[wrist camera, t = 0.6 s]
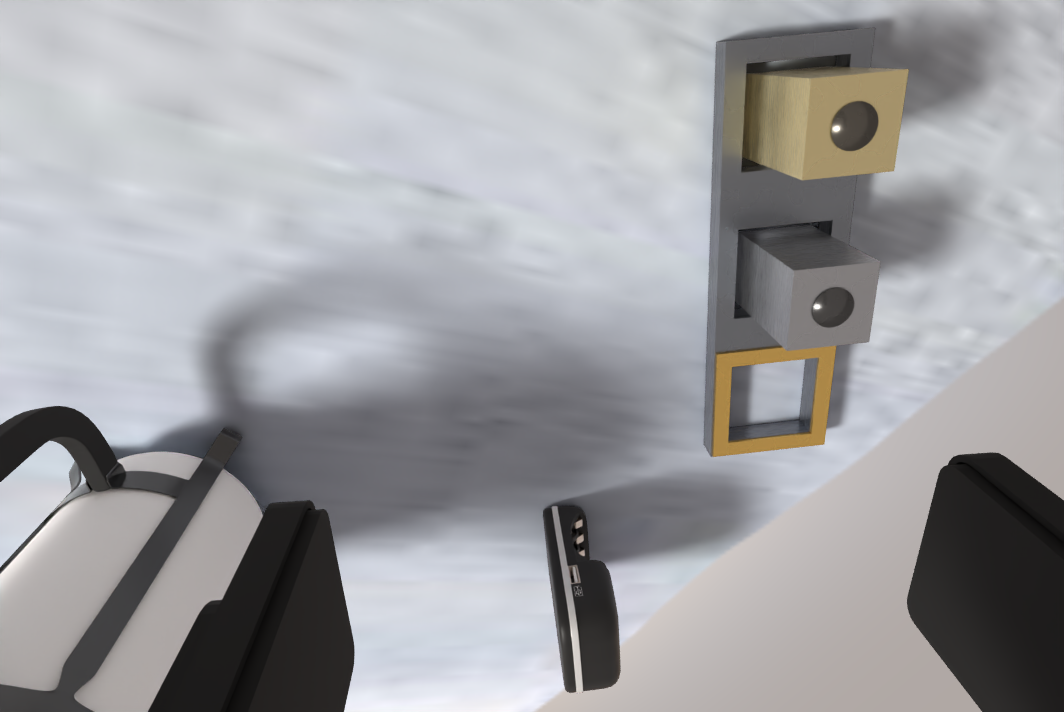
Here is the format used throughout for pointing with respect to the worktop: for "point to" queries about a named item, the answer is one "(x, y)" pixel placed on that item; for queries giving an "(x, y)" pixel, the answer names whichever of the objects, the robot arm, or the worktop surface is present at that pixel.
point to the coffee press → (114, 567)
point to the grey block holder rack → (766, 203)
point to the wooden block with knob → (824, 120)
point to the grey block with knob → (806, 286)
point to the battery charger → (581, 603)
